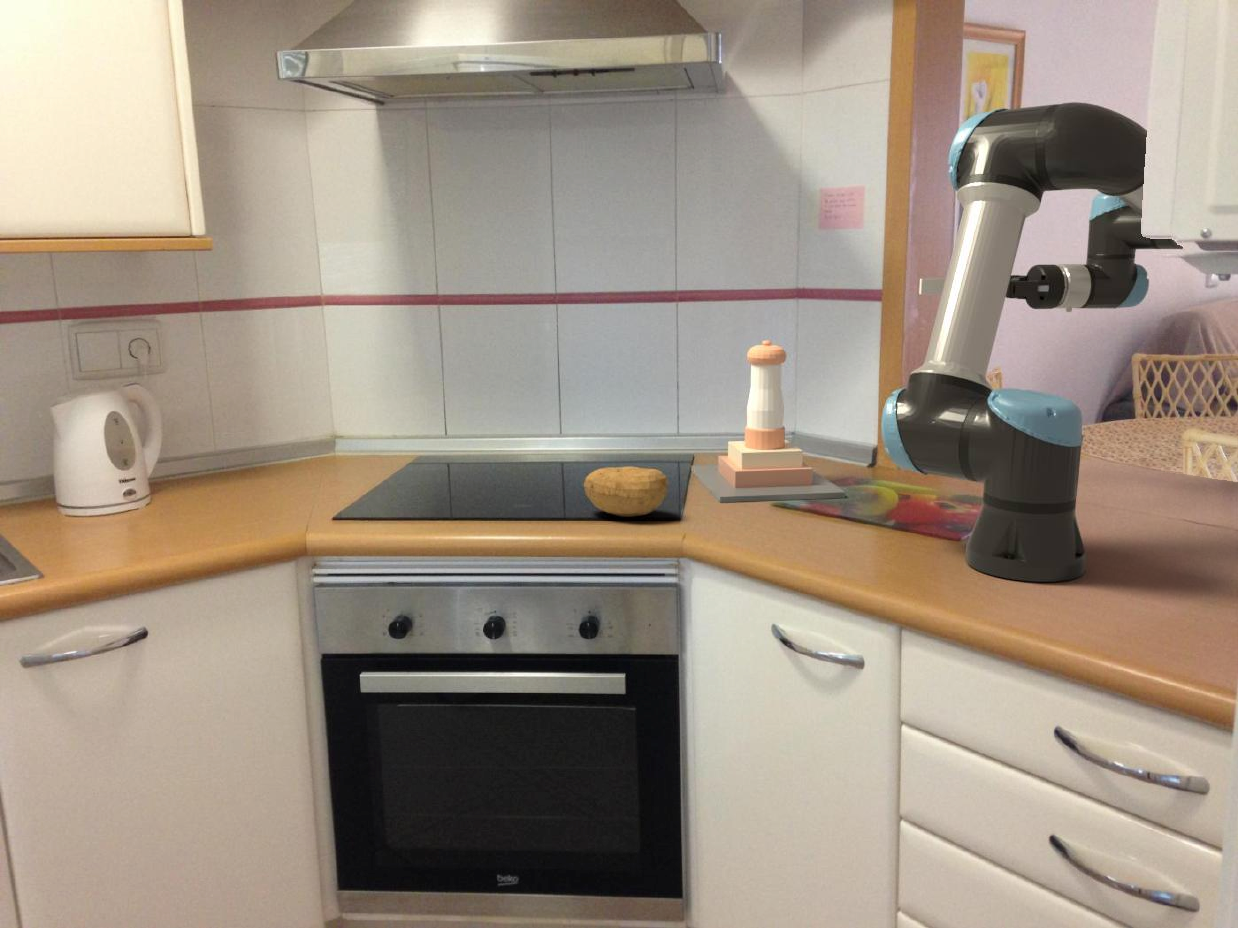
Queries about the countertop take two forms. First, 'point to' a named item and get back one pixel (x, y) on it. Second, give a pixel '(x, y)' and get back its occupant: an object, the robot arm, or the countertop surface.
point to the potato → (626, 490)
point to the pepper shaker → (765, 398)
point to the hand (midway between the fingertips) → (936, 287)
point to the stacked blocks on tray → (764, 476)
